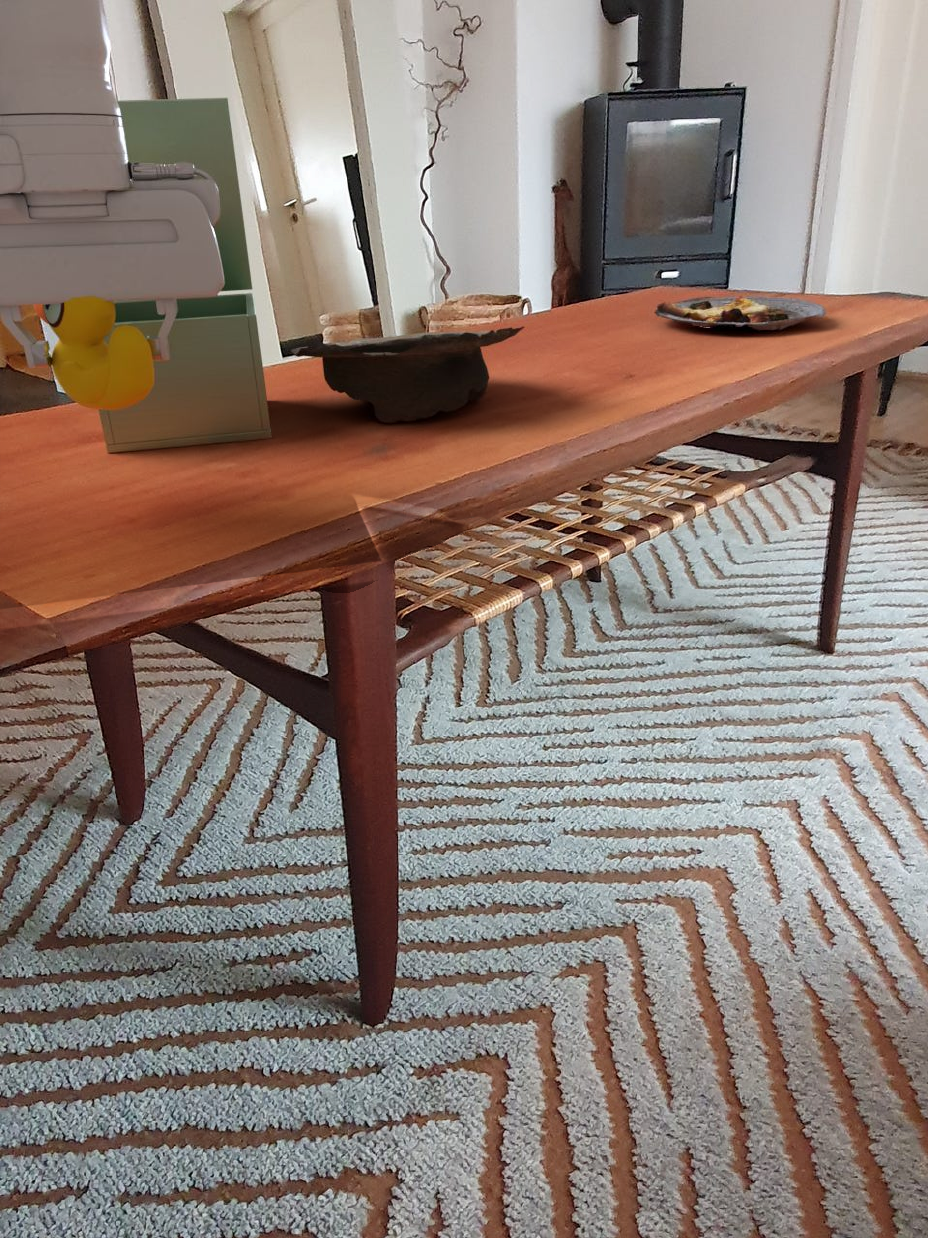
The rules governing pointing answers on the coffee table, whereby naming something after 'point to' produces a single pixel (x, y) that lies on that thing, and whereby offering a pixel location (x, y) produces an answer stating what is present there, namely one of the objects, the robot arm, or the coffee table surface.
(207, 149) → the breadbin lid
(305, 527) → the coffee table surface
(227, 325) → the box
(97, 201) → the robot arm
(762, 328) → the food plate
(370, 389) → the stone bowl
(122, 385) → the duckling
